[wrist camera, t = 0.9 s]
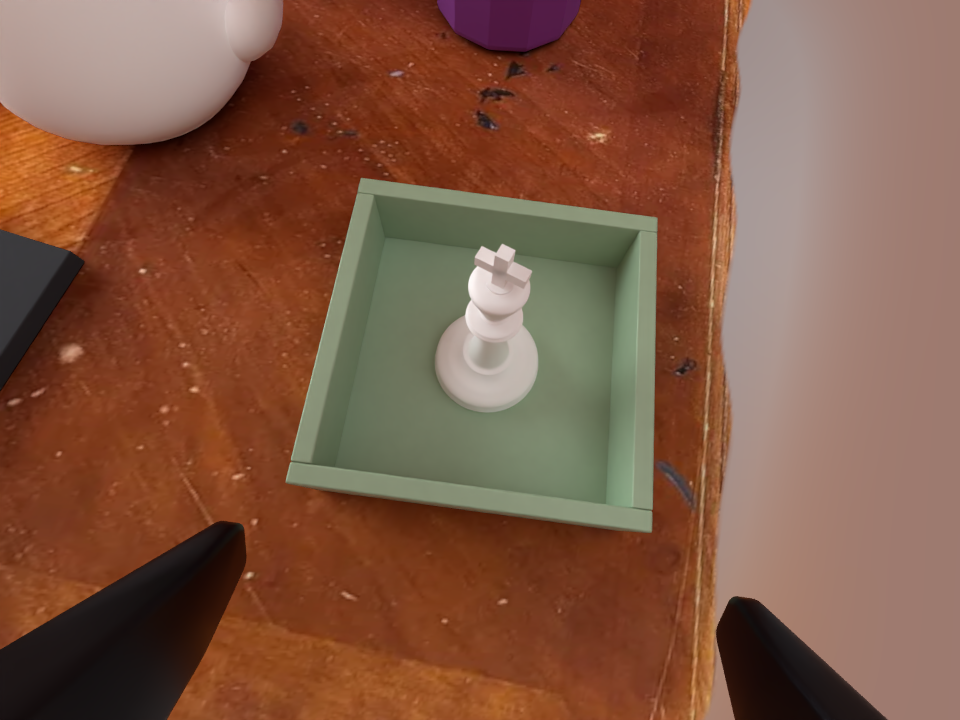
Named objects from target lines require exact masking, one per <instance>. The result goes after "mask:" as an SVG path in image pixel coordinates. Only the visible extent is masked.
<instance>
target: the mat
mask: <svg viewBox="0 0 960 720" xmlns="http://www.w3.org/2000/svg"><path fill="white" fill-rule="evenodd" d="M83 263H84V260H82V259H81V258H79V257H78V256H76V255H75V254H73V253H72V252H71V251H67V250H64V249H61V248H58V247H55V246H51V245H48V244H45V243H42V242H39V241H35V240H32V239H29V238H26V237H23V236H19V235H16V234H13V233H10V232H7V231H3V230H0V390H1V389H2V387H3V385H4V384H5V382H6V381H7V379H8V378H9V376H10V375H11V373H12V372H13V370H14V369H15V367H16V366H17V364H18V363H19V361H20V360H21V358H22V356H23V355H24V353H25V352H26V350H27V349H28V347H29V346H30V344H31V343H32V341H33V340H34V338H35V337H36V335H37V334H38V332H39V330H40V329H41V327H42V326H43V324H44V323H45V321H46V320H47V318H48V317H49V315H50V314H51V312H52V311H53V309H54V308H55V306H56V305H57V303H58V301H59V300H60V298H61V297H62V295H63V294H64V292H65V291H66V289H67V288H68V286H69V285H70V283H71V282H72V280H73V279H74V277H75V276H76V274H77V272H78V271H79V269H80V268H81V266H82V265H83Z"/></svg>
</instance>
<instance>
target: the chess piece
mask: <svg viewBox="0 0 960 720" xmlns="http://www.w3.org/2000/svg"><path fill="white" fill-rule="evenodd" d="M515 251H516V250H514V249H512V248H510V247H508V246H506V245H504V244H502V245H501V246H500V248H499V250H498V251H497V253H495V252H493V251H491V250H489V249H487V248H485V247H483V246H481V248H480V249H479V251H478V253H477V254H476V256H475V261H474V265H476V266H477V267H476V268H475V269H474V270H473V272H472V274H471V276H470V278H469V283H468V291H469V295H470V298H471V301H470V302H469V304H468V306H467V308H466V313H465V315H464V316H462V317H460V318H459V319H457V320H456V321H454V322H453V323H452V324H451V325H450V326H449V327H448V328H447V329H446V330H445V332H444V333H443V335H442V336H441V338H440V341H439V343H438V346H437V349H436V354H435V371H436V375H437V379H438V381H439V383H440V385H441V387H442V389H443V390H444V391H445V393H446V394H447V395H448V396H449V397H450V398H451V399H452V400H453V401H454V402H456V403H457V404H459V405H460V406H462V407H464V408H467V409H469V410H472V411H477V412H485V413H490V412H498V411H502V410H505V409H508V408H510V407H512V406H514V405H515V404H517V403H518V402H520V401H521V400H522V399H523V398H524V397H525V396H526V395H527V394H528V393H529V391H530V390H531V388H532V386H533V384H534V382H535V380H536V376H537V372H538V352H537V348H536V345H535V342H534V340H533V338H532V336H531V334H530V333H529V332H528V330H527V329H526V328H525V327H524V326H523V325H522V323H523V311H522V307H523V306H524V305H525V303H526V302H527V300H528V298H529V295H530V281H529V279H530V277H531V274H532V270H530V269H527V268H525V267H523V266H521V265H519V264H517V263H515V262H513V261H514V256H515Z"/></svg>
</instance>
